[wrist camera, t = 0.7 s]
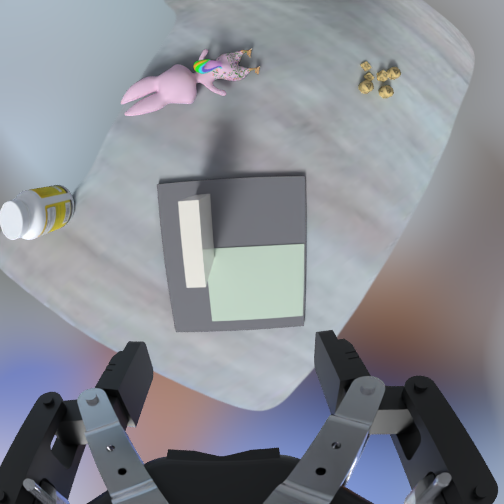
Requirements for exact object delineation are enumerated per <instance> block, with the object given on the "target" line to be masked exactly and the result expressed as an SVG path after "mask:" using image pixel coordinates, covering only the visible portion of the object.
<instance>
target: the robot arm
mask: <svg viewBox="0 0 504 504" xmlns="http://www.w3.org/2000/svg"><path fill="white" fill-rule="evenodd" d="M314 364H315V370H316V373H317V375H318V378H319V381H320V384H321V387H322V389H323V392H324V395H325V398H326V401H327V404H328V406H329V409H330V412H331V415H330V416H329V417H328V419H327V420H326V422H325V424H324V425H323V427H322V428H321V430H320V432H319V433H318V435H317V436H316V438H315V439H314V441H313V442H312V444H311V445H310V447H309V448H308V450H307V451H306V453H305V454H304V455H303V457H302V458H301V459H298V458H295V457H291V456H287V455H280V452H279V448H270V449H257V450H249V451H245V452H241V453H237V454H232V455H228V456H216V455H211V454H206V453H202V452H197V451H186V450H168V453H167V457H162V458H158V459H154V460H152V461H149V462H147V463H146V464H144V463H143V461H142V460H141V458H140V456H139V454H138V453H137V451H136V449H135V448H134V446H133V444H132V442H131V441H130V439H129V437H128V435H127V433H126V432H125V430H126V428H127V426H129V427H136V426H137V423H138V420H139V417H140V414H141V411H142V408H143V405H144V402H145V399H146V396H147V394H148V390H149V388H150V385H151V382H152V379H153V367H152V364H151V360H150V357H149V354H148V350H147V347H146V344H145V343H144V342H133V341H129V342H128V343H127V345H126V347H125V348H124V350H123V351H119V352H118V353H117V354H116V355H114V356H113V357H112V359H111V360H110V362H109V365H108V366H107V367H106V370H105V371H104V372H103V374H102V376H101V378H100V379H99V381H98V383H97V385H96V386H95V388H91V389H87V390H85V391H84V392H82V393H81V394H80V395H79V397H78V399H77V400H68V401H63V399H62V397H61V396H60V394H58V393H56V392H48V393H45V394H43V395H41V396H40V397H39V398H38V400H37V401H36V403H35V404H34V406H33V408H32V409H31V411H30V413H29V415H28V416H27V418H26V420H25V421H24V423H23V425H22V427H21V428H20V430H19V432H18V434H17V435H16V437H15V439H14V441H13V443H12V445H11V447H10V448H9V450H8V452H7V454H6V456H5V458H4V460H3V462H2V464H1V466H0V504H70V503H69V501H68V498H69V494H70V491H71V487H72V484H73V481H74V478H75V475H76V472H77V469H78V466H79V463H80V460H81V457H82V454H83V452H84V449H85V446H86V444H88V445H89V448H90V450H91V453H92V455H93V458H94V460H95V463H96V465H97V468H98V470H99V472H100V474H101V477H102V479H103V481H104V483H105V485H106V487H107V491H106V492H104V493H102V494H101V495H99V496H98V497H96V498H95V499H93V500H92V501H90V502H89V503H87V504H374V503H372V502H370V501H368V500H366V499H365V498H363V497H361V496H360V495H358V494H356V493H354V492H353V491H351V490H349V489H348V488H346V487H345V486H346V484H347V483H348V481H349V479H350V477H351V475H352V473H353V470H354V468H355V466H356V464H357V462H358V460H359V458H360V456H361V454H362V452H363V450H364V447H365V446H366V443H367V441H368V439H369V437H370V434H390V436H391V438H392V440H393V443H394V445H395V448H396V450H397V452H398V455H399V458H400V460H401V463H402V465H403V468H404V470H405V473H406V475H407V478H408V480H409V483H410V486H411V489H412V491H411V492H410V493H409V494H408V496H407V497H406V499H405V502H404V504H492V503H493V502H494V501H495V499H496V497H497V494H498V486H497V483H496V481H495V479H494V477H493V476H492V474H491V472H490V470H489V468H488V466H487V465H486V463H485V461H484V459H483V458H482V456H481V454H480V453H479V451H478V449H477V448H476V446H475V444H474V442H473V441H472V439H471V438H470V436H469V434H468V433H467V431H466V429H465V428H464V426H463V425H462V423H461V422H460V420H459V418H458V417H457V416H456V414H455V412H454V411H453V409H452V408H451V406H450V405H449V403H448V402H447V400H446V399H445V397H444V396H443V394H442V393H441V391H440V390H439V388H438V387H437V386H436V384H435V383H434V382H433V381H432V380H431V379H429V378H428V377H424V376H413V377H411V378H409V379H408V380H407V381H406V383H405V385H404V386H385V385H384V383H383V382H382V381H381V380H380V379H378V378H376V377H372V376H371V375H370V374H369V372H368V370H367V369H366V367H365V365H364V364H363V362H362V360H361V359H360V358H359V355H358V354H357V352H356V350H355V349H354V347H353V345H352V344H351V343H350V342H348V341H347V340H345V339H339V340H338V339H337V337H336V335H335V333H334V332H333V330H328V331H321V332H316V337H315V354H314ZM54 435H56V436H57V438H56V441H55V443H54V445H53V447H52V450H51V448H50V445H51V442H52V440H53V437H54Z"/></svg>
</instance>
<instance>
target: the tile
mask: <svg viewBox="0 0 504 504" xmlns="http://www.w3.org/2000/svg"><path fill="white" fill-rule="evenodd" d="M178 206H179V219H180V231H181V241H182V251H183V261H184V270H185V278H186V287H187V288H198V287H206V285H207V282H208V278H209V275H210V271H211V268H212V265H213V261H214V258H215V256H214V242H213V229H212V214H211V197H210V194H200V195H194V196H191V197H188V198H186V199H183V200H181V201H178Z"/></svg>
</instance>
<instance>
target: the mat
mask: <svg viewBox="0 0 504 504" xmlns="http://www.w3.org/2000/svg"><path fill="white" fill-rule="evenodd" d="M157 191H158V203H159V215H160V225H161V234H162V243H163V252H164V260H165V267H166V275H167V282H168V288H169V295H170V301H171V307H172V313H173V319H174V324H175V330H176V332H209V331H236V330H254V329H270V328H283V327H295V326H304V309H305V272H306V197H305V176H278V177H249V178H229V179H213V180H199V181H187V182H176V183H165V184H157ZM200 194H210V197H211V214H212V229H213V242H214V256H215V258H214V261H213V265H212V268H211V271H210V275H209V278H208V282H207V285H206V287H198V288H187V287H186V278H185V270H184V261H183V251H182V241H181V231H180V219H179V206H178V201H181V200H183V199H186V198H188V197H191V196H194V195H200Z"/></svg>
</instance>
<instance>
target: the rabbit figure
mask: <svg viewBox="0 0 504 504" xmlns="http://www.w3.org/2000/svg"><path fill="white" fill-rule="evenodd" d="M252 49H253V48H252ZM252 49H250V50H241V51H238V52H232V53H225V54H222V55H220V56H219V57H218V58H217V59H216V60H215V61H214V60H210V59H204V58H205V56H206V54H207V53H208V50H207V49H204V50H203V52H202V54H201V55H200V57H199V61H196V62H195V63H194V66H193V67H194V70H195V71H196V73H192V72H191V71H190V70H189V69H188V68H186V67H185V66H182V65H179V64H176V65H174V66H172V67H171V68H170V69H169V70H167V71H165V72H164V73H162V74H161V75H159V76H156V77H154V76H150V77H146V78H143V79H141V80H139V81H138V82H136V83H135V84H134V85H132V86H131V87H130V88H129V89H128V90H127V92H126V93H125V95H124V96H123V98H122V101H121V104H125V103H127V102H130V101H133V100H136V99H138V98H141V97H143V96H146V95H148V94H150V93H153V92H157V93H155V94H152V95H150V96H148V97H146V98H144V99H142V100H140V101H139V102H137V103H136V104H134V105H133V106H132V107H131V108H130V109H129V110H128V111H126V112H125V115H126V116H134V115H141V114H145V113H149V112H154V111H157V110H159V109H161V108H163V107H164V106H165V105H167V104H169V103H180V104H191V103H193V102H194V100H195V98H196V96H197V90H196V84H197V83H202V84H203V85H205V86H206V87H207V88H208V89H210V90H211V91H213V92H215V93H217V94H220V95H222V96H225V95H226V92H225V91H224V90H219V89H217V88H216V87H215V86H214V85H213V81H214V80H216V79H225V80H229V81H239V80H242V79H244V78H245V77H246V75H247V74H248V73H249V72H250V71H252V70H255V73H257V74H258V73H259V69H260V68H259V67H260V66H259V67H258V68H246V67H242V66H238V64H239V63H240V60H241V57H242V55H243V54H244V53H247V55H249V57H250V55H251V50H252ZM250 58H251V57H250Z"/></svg>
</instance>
